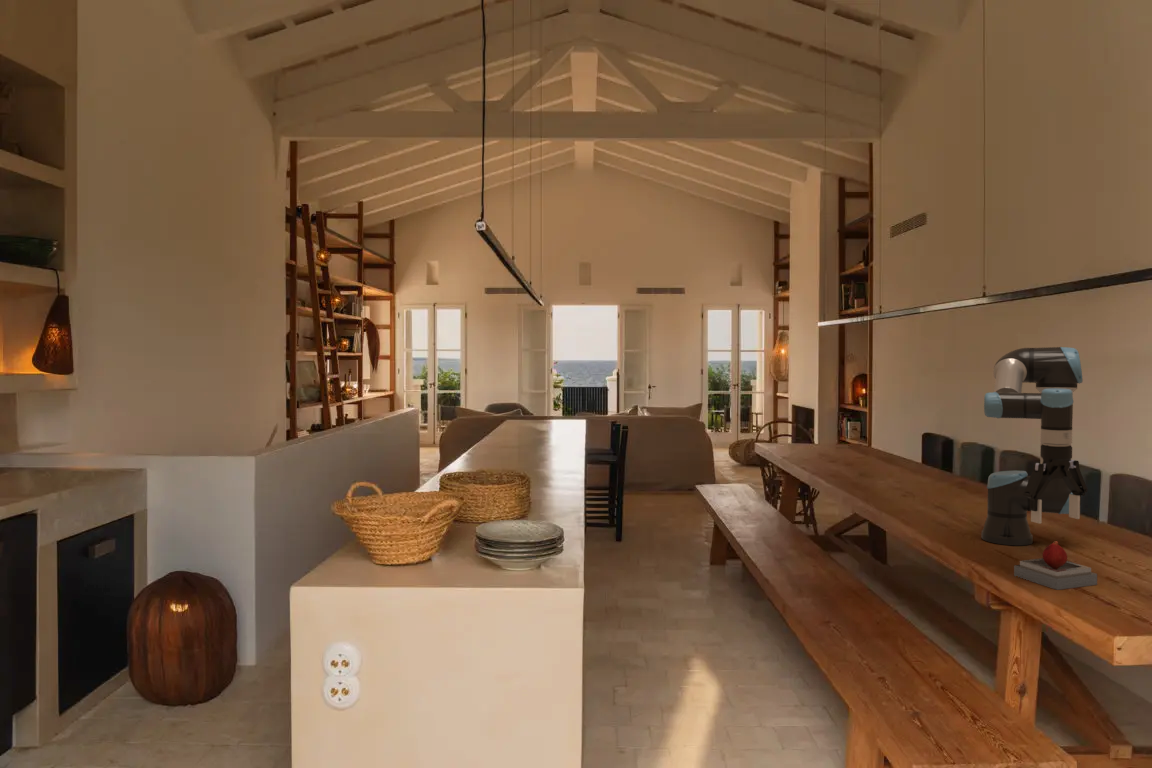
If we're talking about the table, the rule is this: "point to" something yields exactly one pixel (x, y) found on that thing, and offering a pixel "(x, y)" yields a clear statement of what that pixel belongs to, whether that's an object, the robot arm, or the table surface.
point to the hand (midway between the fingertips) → (1055, 520)
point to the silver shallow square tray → (1055, 574)
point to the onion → (1054, 555)
